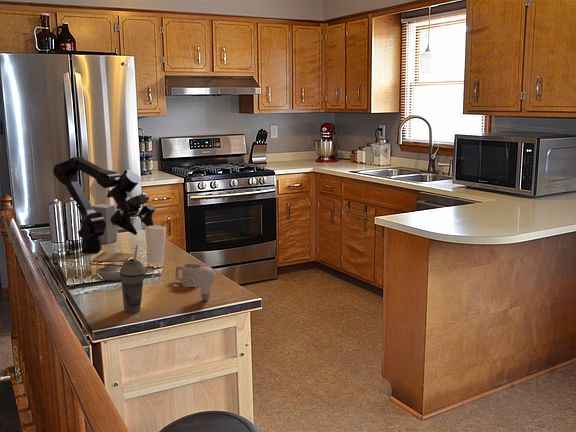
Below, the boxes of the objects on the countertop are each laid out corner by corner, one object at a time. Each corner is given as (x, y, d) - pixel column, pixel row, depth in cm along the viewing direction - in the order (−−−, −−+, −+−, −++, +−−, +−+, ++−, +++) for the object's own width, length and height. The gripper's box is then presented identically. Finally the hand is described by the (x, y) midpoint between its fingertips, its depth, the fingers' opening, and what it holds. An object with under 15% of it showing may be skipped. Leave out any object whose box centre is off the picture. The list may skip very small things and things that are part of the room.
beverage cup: (122, 306, 178) (122, 241, 175) (146, 306, 179) (147, 242, 175) (117, 314, 171) (117, 247, 167) (142, 315, 172) (143, 248, 168)
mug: (205, 284, 204) (205, 265, 203) (194, 289, 198) (194, 269, 197) (181, 279, 208) (181, 260, 207) (169, 283, 202) (170, 265, 201)
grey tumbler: (167, 264, 224) (168, 226, 222) (162, 269, 217) (162, 229, 215) (149, 263, 225) (150, 224, 222) (143, 268, 218) (144, 228, 215)
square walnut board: (92, 264, 220) (92, 260, 219) (102, 255, 232) (102, 252, 231) (125, 265, 220) (125, 261, 220) (132, 257, 232) (132, 253, 231)
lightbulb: (218, 299, 189) (219, 265, 187) (209, 304, 184) (210, 270, 181) (201, 296, 191) (201, 263, 189) (191, 301, 185) (192, 267, 183)
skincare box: (117, 241, 255) (117, 205, 252) (105, 244, 249) (105, 207, 246) (102, 238, 259) (102, 202, 256) (90, 241, 253) (90, 205, 250)
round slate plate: (91, 279, 202) (91, 275, 201) (103, 269, 214) (103, 265, 214) (130, 281, 202) (130, 277, 202) (139, 270, 215) (139, 266, 214)
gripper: (115, 188, 213) (138, 223, 210) (151, 184, 229) (173, 216, 226) (100, 207, 218) (122, 241, 215) (136, 201, 234) (157, 233, 231)
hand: (145, 232), depth 221 cm, fingers open, 9 cm apart
